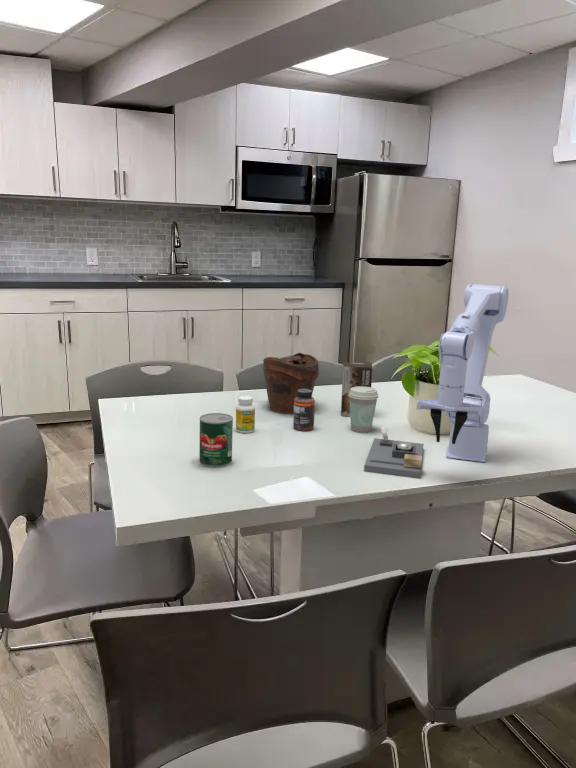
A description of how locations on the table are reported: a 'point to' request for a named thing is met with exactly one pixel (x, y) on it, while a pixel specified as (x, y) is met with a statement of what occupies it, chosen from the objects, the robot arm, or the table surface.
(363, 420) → the coffee cup
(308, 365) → the brown leather bucket
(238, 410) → the supplement bottle
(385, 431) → the off-white toggle lever
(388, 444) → the control panel
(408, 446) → the steel push button
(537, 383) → the table surface
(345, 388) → the coffee box
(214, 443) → the canned tomato
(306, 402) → the supplement bottle
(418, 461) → the block
